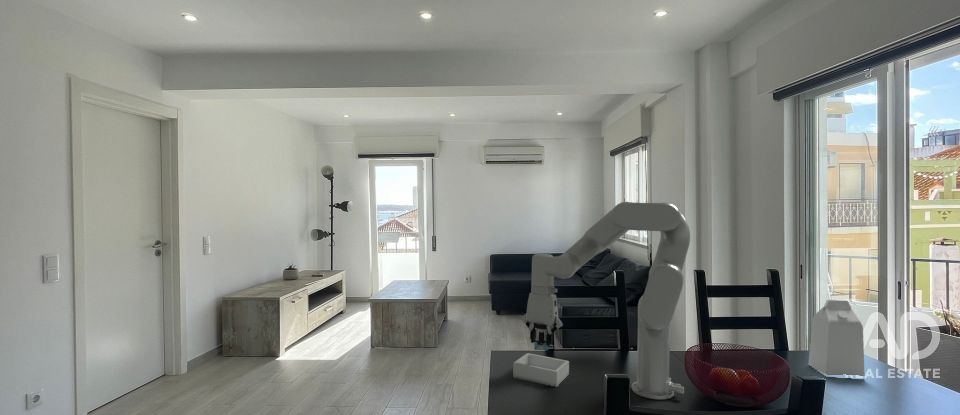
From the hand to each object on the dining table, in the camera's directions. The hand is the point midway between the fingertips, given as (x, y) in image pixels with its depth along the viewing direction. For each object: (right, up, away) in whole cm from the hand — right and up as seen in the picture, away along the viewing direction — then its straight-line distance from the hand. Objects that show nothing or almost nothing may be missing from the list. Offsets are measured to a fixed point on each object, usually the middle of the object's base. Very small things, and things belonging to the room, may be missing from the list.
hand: (541, 342), depth 159 cm
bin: (0, -12, 0) cm, 12 cm away
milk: (+106, -13, +7) cm, 107 cm away
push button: (+1, -2, 0) cm, 2 cm away
